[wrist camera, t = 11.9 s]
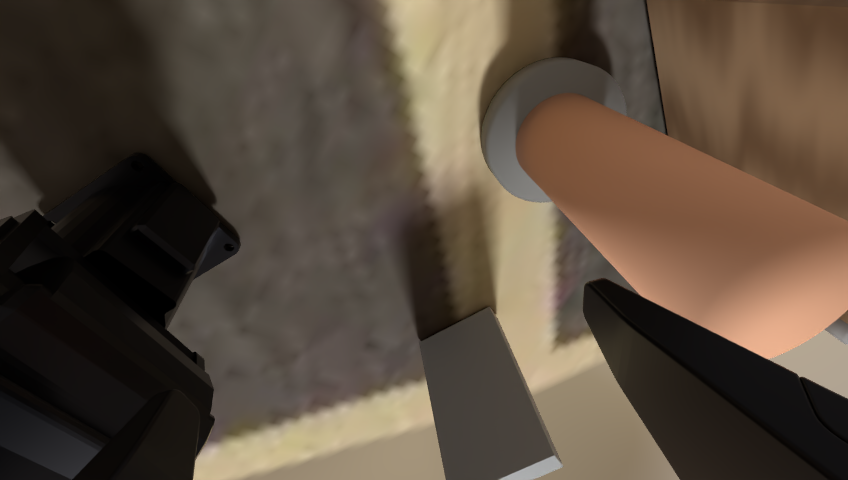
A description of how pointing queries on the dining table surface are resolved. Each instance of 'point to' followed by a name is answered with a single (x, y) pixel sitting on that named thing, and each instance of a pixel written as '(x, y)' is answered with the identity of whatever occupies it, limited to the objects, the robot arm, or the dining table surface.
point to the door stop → (669, 210)
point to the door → (761, 91)
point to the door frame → (484, 405)
